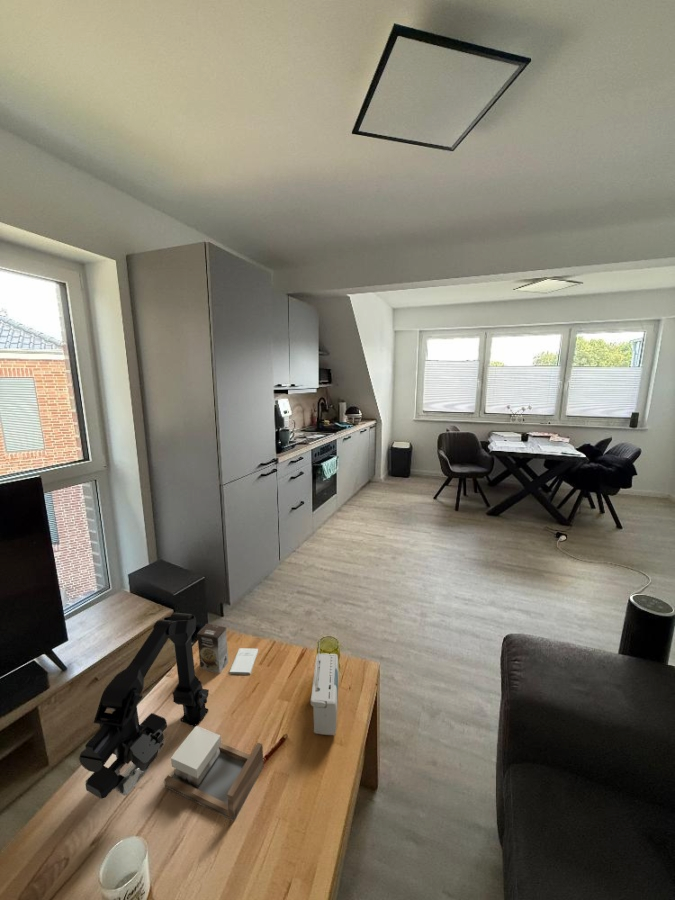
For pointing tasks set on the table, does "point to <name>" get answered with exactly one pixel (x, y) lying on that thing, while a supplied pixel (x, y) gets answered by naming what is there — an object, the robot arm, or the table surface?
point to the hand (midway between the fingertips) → (133, 778)
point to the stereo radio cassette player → (325, 693)
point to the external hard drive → (244, 661)
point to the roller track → (221, 780)
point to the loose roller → (132, 778)
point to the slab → (196, 751)
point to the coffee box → (213, 648)
